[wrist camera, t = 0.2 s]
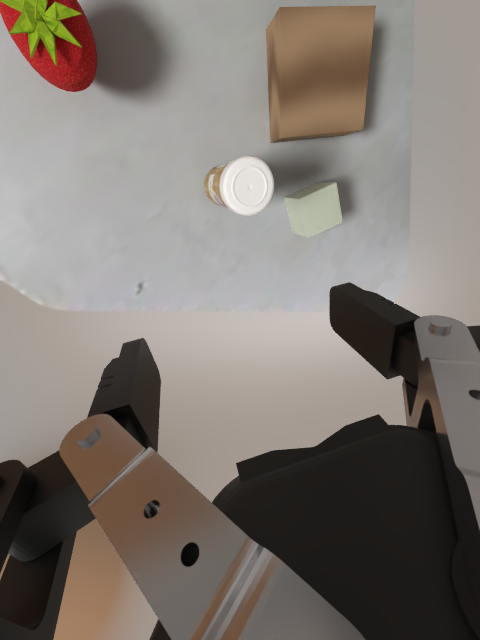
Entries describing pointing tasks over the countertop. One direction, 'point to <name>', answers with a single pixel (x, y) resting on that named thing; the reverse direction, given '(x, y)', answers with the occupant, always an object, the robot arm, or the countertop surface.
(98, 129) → the countertop surface
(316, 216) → the sage cube
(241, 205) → the sprinkles bottle
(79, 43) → the strawberry
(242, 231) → the countertop surface
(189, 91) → the countertop surface
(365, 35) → the walnut block
